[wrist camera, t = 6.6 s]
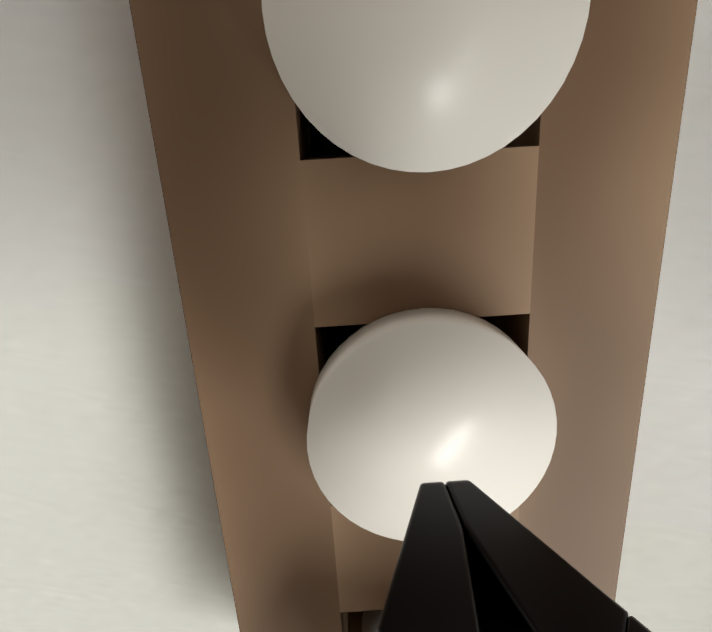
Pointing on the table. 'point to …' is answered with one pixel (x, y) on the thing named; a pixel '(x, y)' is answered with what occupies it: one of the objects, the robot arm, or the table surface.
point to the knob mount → (408, 281)
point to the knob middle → (427, 416)
